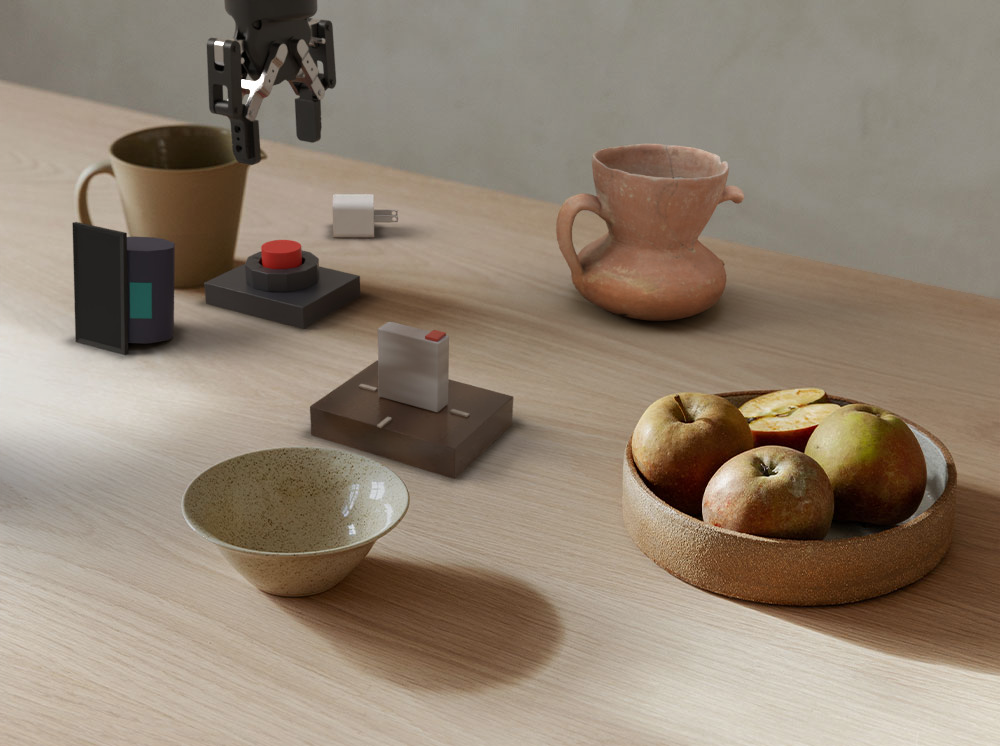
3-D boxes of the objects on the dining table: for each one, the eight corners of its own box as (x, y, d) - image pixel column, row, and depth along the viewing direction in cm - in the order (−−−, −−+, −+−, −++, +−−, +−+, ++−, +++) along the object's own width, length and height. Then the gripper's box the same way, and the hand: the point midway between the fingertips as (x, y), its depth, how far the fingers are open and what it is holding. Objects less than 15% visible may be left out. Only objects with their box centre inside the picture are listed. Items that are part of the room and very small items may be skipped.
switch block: (205, 304, 102) (202, 264, 100) (266, 274, 109) (264, 236, 107) (303, 330, 97) (302, 288, 95) (360, 297, 104) (359, 257, 103)
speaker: (107, 362, 90) (100, 237, 86) (74, 343, 93) (66, 222, 90) (190, 345, 95) (187, 227, 91) (156, 327, 98) (152, 213, 95)
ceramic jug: (697, 272, 114) (714, 135, 107) (760, 329, 101) (783, 178, 95) (529, 282, 110) (536, 140, 103) (572, 342, 97) (583, 185, 91)
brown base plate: (310, 436, 81) (308, 404, 79) (378, 387, 88) (377, 357, 87) (453, 481, 76) (454, 447, 75) (512, 424, 83) (514, 393, 82)
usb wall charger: (334, 227, 122) (333, 192, 120) (397, 227, 123) (397, 192, 121) (333, 239, 119) (332, 203, 117) (398, 239, 119) (398, 204, 118)
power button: (254, 266, 101) (252, 248, 100) (278, 254, 104) (277, 237, 103) (286, 274, 99) (285, 255, 98) (309, 262, 102) (309, 244, 101)
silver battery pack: (378, 396, 81) (377, 325, 79) (389, 388, 82) (389, 317, 80) (437, 413, 79) (438, 340, 77) (448, 403, 80) (449, 332, 78)
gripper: (285, -56, 96) (294, 128, 104) (171, -43, 85) (190, 163, 92) (357, -49, 93) (361, 140, 101) (248, -34, 82) (262, 178, 89)
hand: (279, 151), depth 96 cm, fingers open, 8 cm apart
